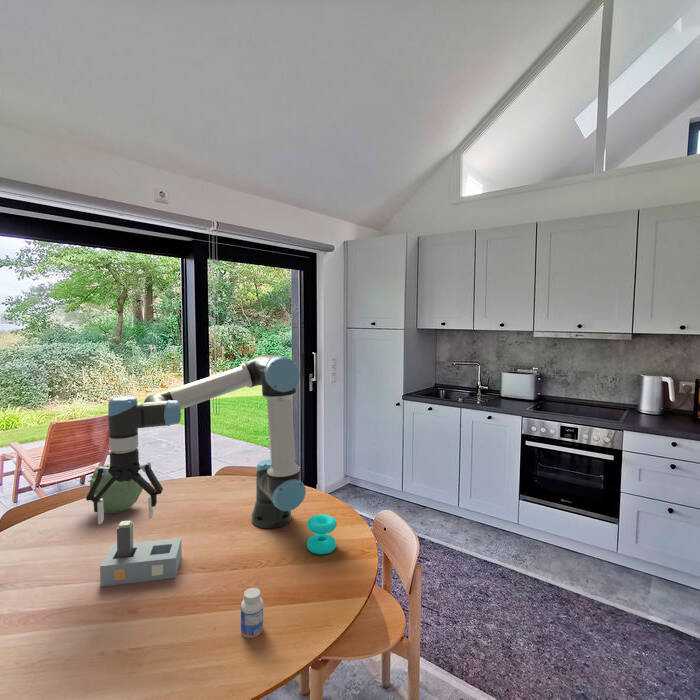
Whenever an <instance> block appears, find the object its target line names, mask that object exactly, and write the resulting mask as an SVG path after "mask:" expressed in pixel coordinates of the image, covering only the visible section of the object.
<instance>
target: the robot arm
mask: <svg viewBox="0 0 700 700" xmlns="http://www.w3.org/2000/svg"><path fill="white" fill-rule="evenodd" d="M300 376H301V375H300V369H299V366H298V364H297V363H296V362H295V361H294V360H293V359H291V358H289V357H288V356H285V355H280V354H274V353H267V354H262V355H259V356H257V357H254V358H253V359H250V360H246V361H244V362H241V363H240V365H239V366H238V367H235V368H231V369H228V370H226V371H223V372H221V373H217V374H214V375H210V376H208V377H205V378H202V379H199V380H196V381H193V382H190V383H187V384H184V385H181V386H179V387H178V386H177V387H175V388H172V389H169V390H167V391H163V392H159V393H158V392H157V393H156V392H155V393H151V394H149V395H147V396H146V398H145V399H144V401H143V402H138V399H137V397H135V396H119V397H118V396H117V397H113V398H111V399H110V400H109V401H108V408H107V409H108V411H107V417H108V419H107V420H108V434H109V435H108V436H109V439H108V443H109V451H110V452H109V464H110V467H104V465H101V467H100V468H99V469H98V473H97V478H96V480H95V482H94V484H93V485H92V487H91V489H90V488H89V491H88V493H87V495H86V498H85V500H86V501H90V502H92V501H93V502H94V503H93V502H92V503H93V512H94V513H97V525H101V524H102V523H103V522H104V520H105V516H104V515H105V514H104V513H105V512H104V508H103V499H100V497H101V496H102V495H103V494H104V493H105V492H106V490H107V489H108V488H109V487H110V486H111V485H112V483H113V482H114V481H115V480H116V481H118V482H122V481H130V480H133V481H134V482H137V483H138V484H139V485H140V486H141V487H142V488H143V490H144V491H145V492H146V493H147V495H149V496H148V497H147V499H148V501H147V502H148V503H147V505H148V520H151V519H153V516H154V507H156V505H157V504H158V503H157V501H158V500H157V496H158V495H161V494H162V492H163V490H164V488H163V486H162V485H161V482H159V480H158V478H157V476H156V474H155V473H154V471H153V470H152V465H151V462H147V463H145V464H140V462H139V461H140V459H139V457H140V456H139V455H140V454H139V449H138V447H139V429H144V428H145V429H146V428H156V427H165V426H166V427H167V426H172V425H176V424H177V425H178V424H179V423H181V418H182V412H181V411H182V410H184V409H186V408H189V407H192V406H194V405H198V404H200V403H203V402H206V401H209V400H212V399H215V398H218V397H220V396H223V395H226V394H229V393H231V392H235V391H238V390H240V389H243V388H245V387H246V388H250V389H251V388H253V387H257V386H261V390H262V391H261V394H262V397H263V398H264V399H266V400H267V401H266V404H267V405H266V406H267V420H268V436H269V437H268V438H269V454H270V459H265V460H261V461H259V462H258V463H257V465H256V470H255V473H256V480H255V482H256V484H255V485H256V496H255V497H256V499H255V503H254V506H253V510H252V512H251V518H250V519H251V523H252V524H253V526H255V527H257V528H262V529H276V528H281V527H284V526H286V525H288V524H289V523H290V522H291V520H292V511H293V510H296V509H297V508H298V507H299V506H300V505H301V504H302V503H303V501H304V500H305V498H306V493H307V492H306V491H307V489H306V487H305V484H304V482H303V481H302V480H301V478H302V477H301V467H300V466H299V465H298V464H297V463H296V449H295V447H296V446H295V434H294V433H295V431H294V412H293V397H294V396H295V395H296V394H297V388H296V387H297V385H298V383H299V382H300ZM140 470H142V472H144V473H145V476H146V477H147V478H148V480H149V482H150V483H151V484H150V483H149V482H148V481H147V480H146V479H145V478H144V477H143V476H142V474H140ZM107 472H109V473H110V474H111V475H112V478H111V479H110V480H109V482H108V483H107V484H106V485H105V486H104V487H103V488H102V490H101V491H100V492H99V493H98V494H97V495H94V494H95V492H96V490H97V488H98V486H99V484H100V482H101V480H102V478H103V476H104V475H105V474H106V473H107Z"/></svg>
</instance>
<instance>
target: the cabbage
mask: <svg viewBox="0 0 700 700" xmlns="http://www.w3.org/2000/svg"><path fill="white" fill-rule="evenodd" d="M101 466H102V465H101ZM101 466H97V467H95V469H94V472H93V473H92V474H93V475H92V474H91V476H89V478H90V480H88V481H87V482H88V483H89V490H90V489H91V487H92V485H93V484H94V482H95V480H96V478H97V473H98V469H99V468H100V467H101ZM103 466H104V467H110V463H109V464H105V465H103ZM111 478H112V475H111V474H110V473H109V472H107V473H106V474H105V475H104V476H103V478H102V480H101V482H100V484H99V486H98V488H97V490H96V492H95V494H94V495H97V494H98V493H99V492H100V491H101V490H102V488H103V487H104V486H105V485H106V484H107V483H108V482H109V480H110V479H111ZM143 490H144V489H143V488H142V487H141V486H140V485H139V484H138V483H137V482H134V481H133V480H130V481H122V482H118V481H116V480H115V481H114V482H113V483H112V485H111V486H110V487H109V488H108V489H107V490H106V492H105V493H104V494H103V495H102V496H101V497H100V499H103V508H104V513H107V514H111V515H112V514H113V515H115V514H120V513H123V512H125V511H127V510H129V509H131V508H132V506H134V505H135V503H137V501H138V499H139V497H140V496H141V494H142V492H143ZM91 502H92V503H93V504H94V502H93V501H91Z"/></svg>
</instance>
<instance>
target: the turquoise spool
mask: <svg viewBox="0 0 700 700" xmlns="http://www.w3.org/2000/svg"><path fill="white" fill-rule="evenodd" d="M337 524H338V523H337V520H336V518H334V517H333V516H331V515H329V514H324V513H323V514H316V515H313V516H311V517H309V518H308V520H307V523H306V526H307V528H308V530H309V531H310V532H311V533H314V534H313V535H312V536H310V537H309V538H308V539H307V542H306V548H307V549H308V551H310V553H312V554H314V555H327V554H330V553H332V552H333V551H334V550H335V549H336V547H337V541H336V539H335V538H334V537H333V536H332V535H330V533H332V532H333V531H334V530H335V529H336V528H337Z"/></svg>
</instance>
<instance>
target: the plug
mask: <svg viewBox="0 0 700 700" xmlns="http://www.w3.org/2000/svg"><path fill="white" fill-rule="evenodd" d="M133 543H134V521H133V522H132V520H122V521H120V523H119V524H118V526H117V529H116V544H117V559H119V558H128V557H133Z"/></svg>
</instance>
